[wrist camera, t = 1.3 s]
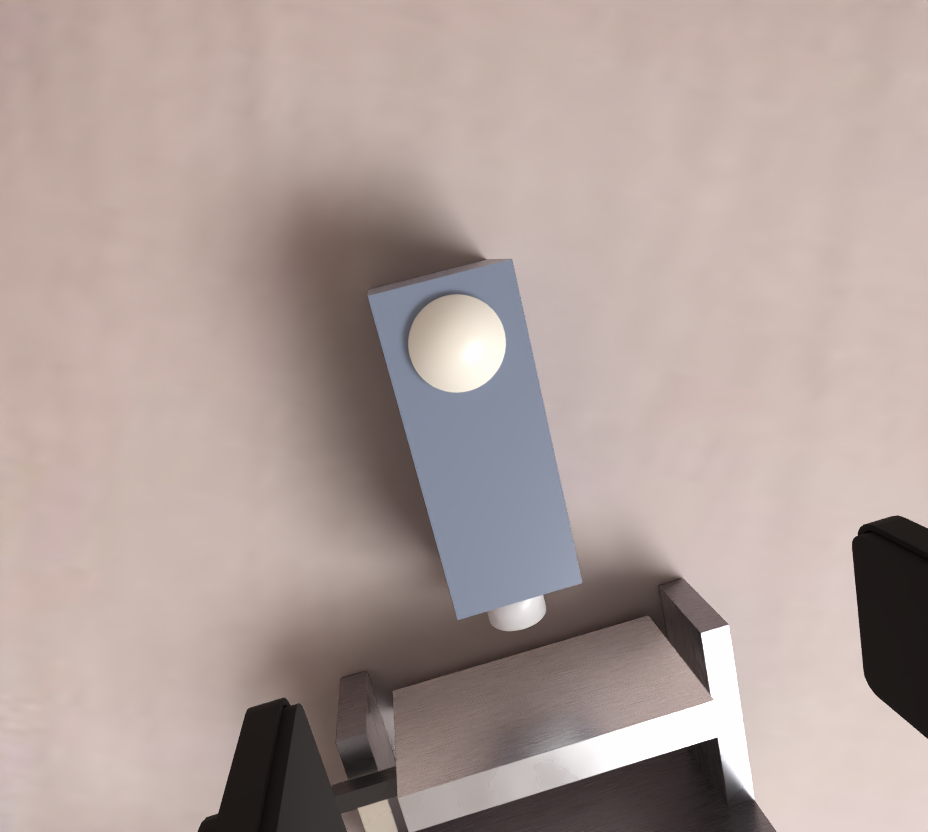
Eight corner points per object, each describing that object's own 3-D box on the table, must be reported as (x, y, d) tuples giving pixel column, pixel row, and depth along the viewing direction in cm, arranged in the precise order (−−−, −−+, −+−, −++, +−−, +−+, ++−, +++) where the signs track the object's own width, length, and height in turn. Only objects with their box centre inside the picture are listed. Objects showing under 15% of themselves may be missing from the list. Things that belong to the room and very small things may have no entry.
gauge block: (485, 259, 26) (513, 258, 21) (556, 569, 30) (594, 632, 24) (368, 289, 26) (367, 296, 21) (453, 599, 29) (471, 669, 24)
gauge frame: (340, 678, 29) (328, 829, 21) (683, 578, 30) (789, 686, 23) (400, 858, 32) (409, 1050, 24) (713, 759, 33) (817, 912, 25)
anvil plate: (335, 707, 29) (325, 820, 23) (648, 615, 30) (714, 700, 24) (345, 737, 29) (338, 855, 23) (653, 645, 30) (720, 736, 24)
